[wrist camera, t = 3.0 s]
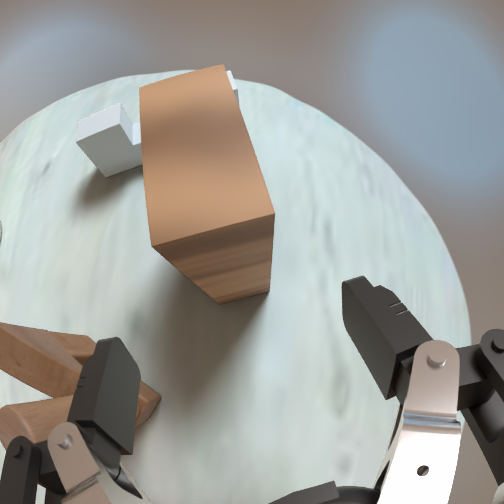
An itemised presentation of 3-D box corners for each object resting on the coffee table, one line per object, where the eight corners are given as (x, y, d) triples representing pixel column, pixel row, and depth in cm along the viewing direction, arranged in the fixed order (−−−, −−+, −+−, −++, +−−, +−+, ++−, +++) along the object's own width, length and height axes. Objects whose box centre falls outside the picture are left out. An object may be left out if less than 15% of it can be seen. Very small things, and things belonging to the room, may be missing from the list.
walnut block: (269, 291, 29) (274, 213, 11) (219, 304, 28) (151, 246, 11) (244, 201, 32) (223, 64, 14) (198, 213, 31) (139, 87, 14)
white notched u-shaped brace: (105, 177, 34) (75, 142, 26) (106, 156, 35) (78, 120, 27) (242, 136, 34) (237, 89, 27) (236, 117, 35) (230, 70, 28)
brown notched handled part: (87, 334, 28) (-45, 310, 11) (163, 395, 26) (45, 443, 9) (74, 359, 27) (-56, 352, 10) (147, 421, 25) (30, 482, 8)
